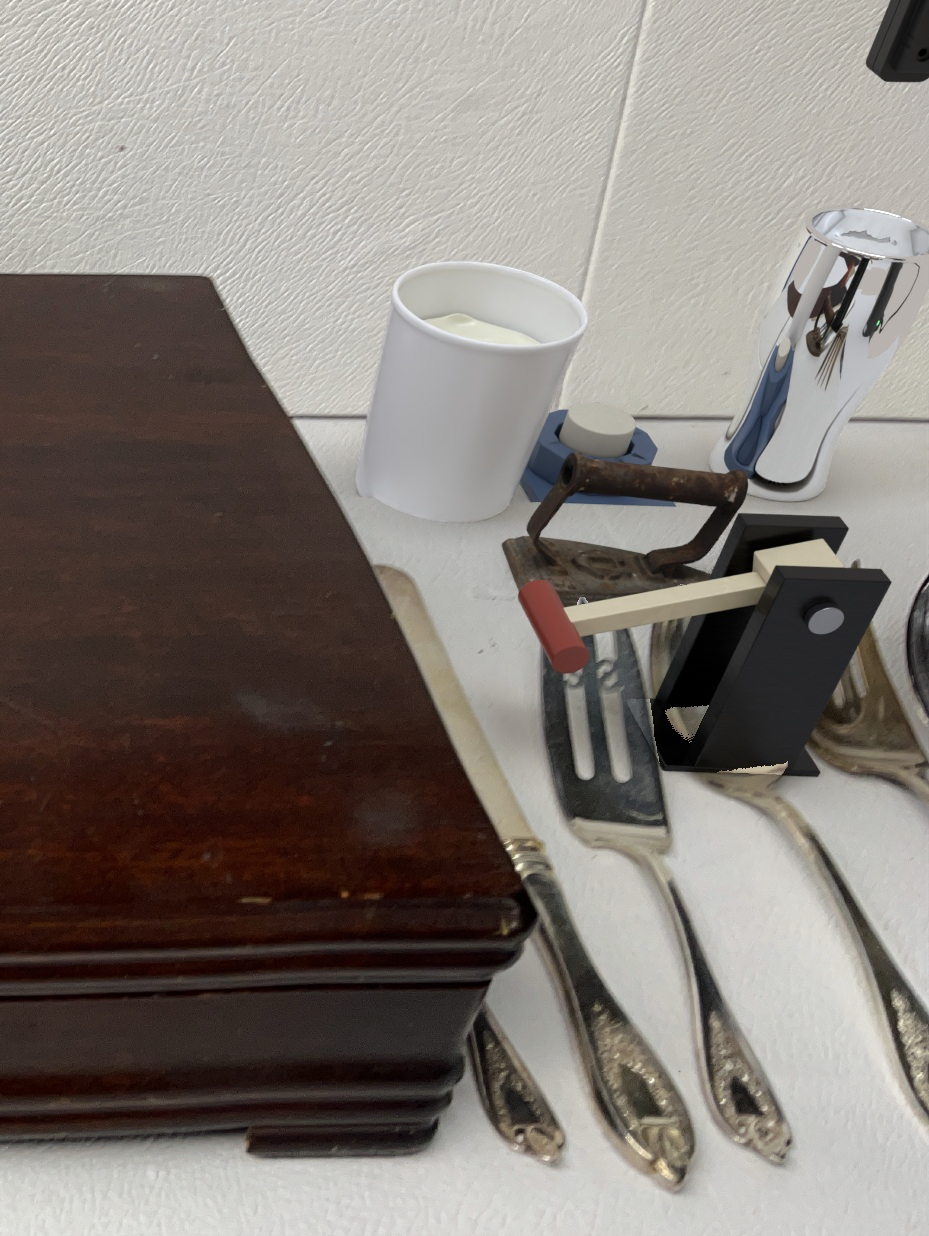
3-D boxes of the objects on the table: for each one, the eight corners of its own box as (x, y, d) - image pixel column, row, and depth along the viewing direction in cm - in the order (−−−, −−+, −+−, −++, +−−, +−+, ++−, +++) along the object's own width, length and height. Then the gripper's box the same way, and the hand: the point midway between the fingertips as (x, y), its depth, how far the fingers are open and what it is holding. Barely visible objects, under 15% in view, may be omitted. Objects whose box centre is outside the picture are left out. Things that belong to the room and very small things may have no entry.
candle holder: (522, 557, 96) (594, 359, 88) (335, 523, 99) (389, 328, 91) (519, 465, 103) (585, 275, 96) (344, 436, 106) (395, 249, 98)
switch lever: (551, 684, 79) (551, 642, 77) (517, 616, 82) (517, 575, 81) (854, 629, 76) (860, 585, 74) (805, 562, 80) (809, 519, 78)
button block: (489, 428, 106) (501, 392, 105) (616, 432, 106) (630, 396, 105) (541, 521, 99) (555, 483, 97) (678, 526, 98) (695, 488, 97)
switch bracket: (659, 792, 82) (758, 584, 74) (615, 709, 86) (703, 505, 79) (815, 798, 81) (930, 590, 74) (762, 714, 86) (864, 510, 78)
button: (550, 427, 103) (559, 400, 101) (613, 428, 102) (623, 402, 101) (570, 460, 100) (580, 433, 99) (635, 462, 100) (646, 435, 99)
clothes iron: (472, 559, 97) (568, 397, 91) (665, 614, 97) (771, 456, 92) (509, 626, 91) (613, 457, 85) (713, 684, 92) (830, 519, 86)
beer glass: (800, 521, 99) (918, 272, 89) (677, 471, 103) (778, 228, 93) (852, 477, 102) (971, 233, 93) (732, 430, 106) (834, 192, 97)
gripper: (1307, -356, 61) (1066, 136, 72) (1096, -413, 71) (913, 25, 82) (1079, -356, 61) (874, 133, 72) (902, -413, 71) (746, 23, 82)
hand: (895, 75), depth 77 cm, fingers closed
